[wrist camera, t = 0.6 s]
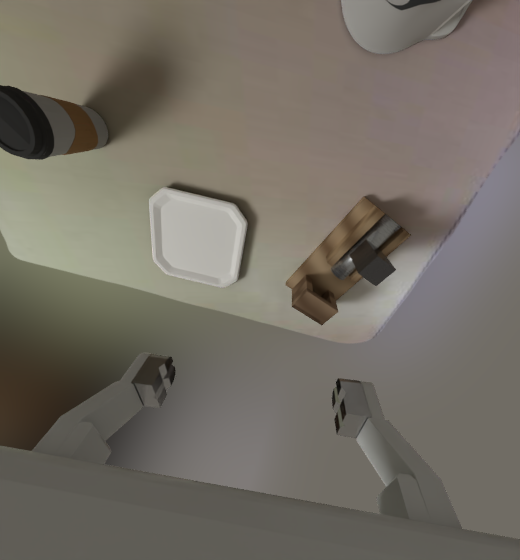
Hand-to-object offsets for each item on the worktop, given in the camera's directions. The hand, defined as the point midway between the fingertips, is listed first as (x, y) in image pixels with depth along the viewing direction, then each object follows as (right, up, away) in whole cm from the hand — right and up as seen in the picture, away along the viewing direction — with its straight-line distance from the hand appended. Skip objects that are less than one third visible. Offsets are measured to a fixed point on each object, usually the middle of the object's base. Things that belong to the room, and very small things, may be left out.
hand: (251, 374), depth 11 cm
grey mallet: (+21, +12, +34) cm, 42 cm away
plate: (-13, +14, +40) cm, 45 cm away
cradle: (+18, +9, +38) cm, 43 cm away
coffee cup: (-30, +33, +31) cm, 54 cm away
